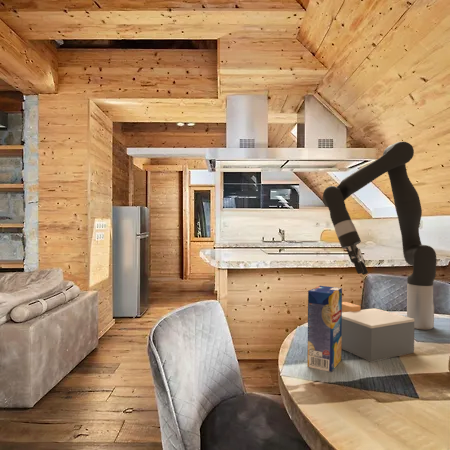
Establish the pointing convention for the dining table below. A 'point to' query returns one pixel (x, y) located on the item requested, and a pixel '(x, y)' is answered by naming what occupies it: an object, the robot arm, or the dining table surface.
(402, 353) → the carton
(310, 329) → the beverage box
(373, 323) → the lid flap
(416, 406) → the dining table surface
